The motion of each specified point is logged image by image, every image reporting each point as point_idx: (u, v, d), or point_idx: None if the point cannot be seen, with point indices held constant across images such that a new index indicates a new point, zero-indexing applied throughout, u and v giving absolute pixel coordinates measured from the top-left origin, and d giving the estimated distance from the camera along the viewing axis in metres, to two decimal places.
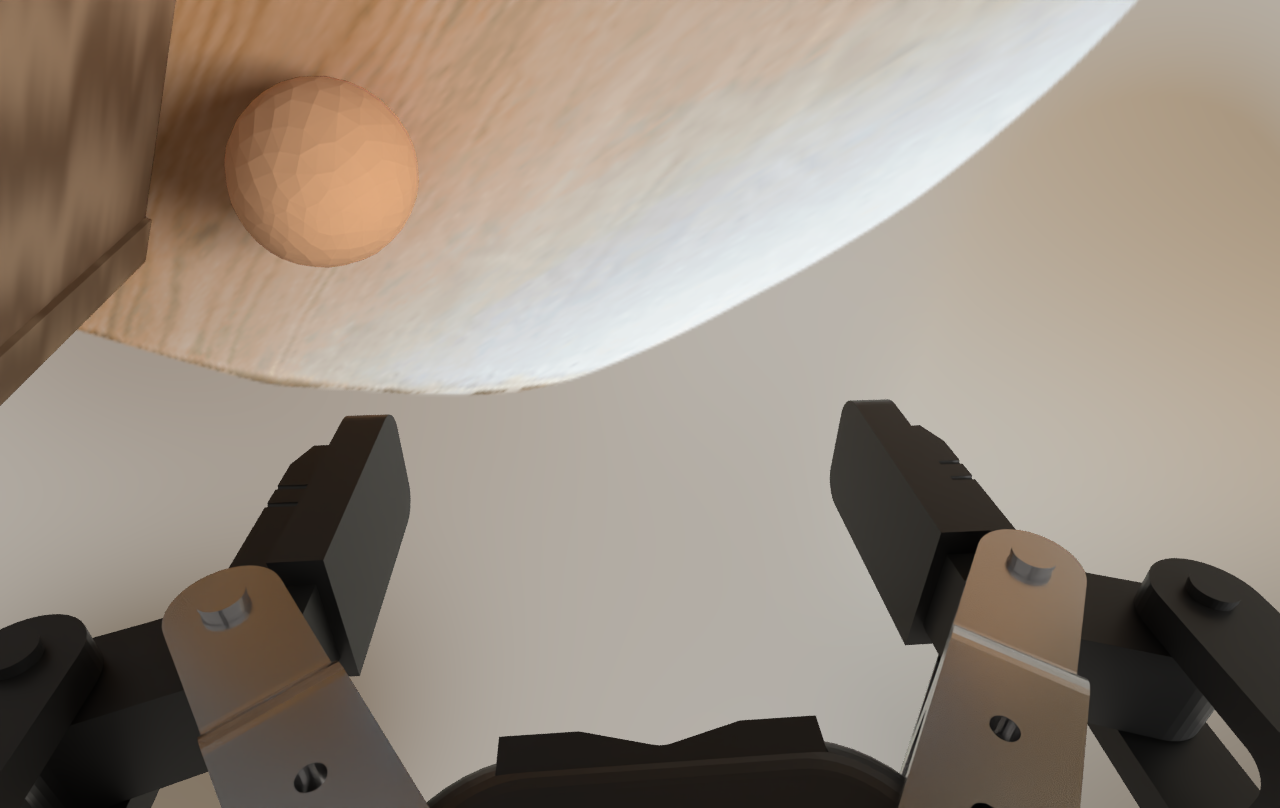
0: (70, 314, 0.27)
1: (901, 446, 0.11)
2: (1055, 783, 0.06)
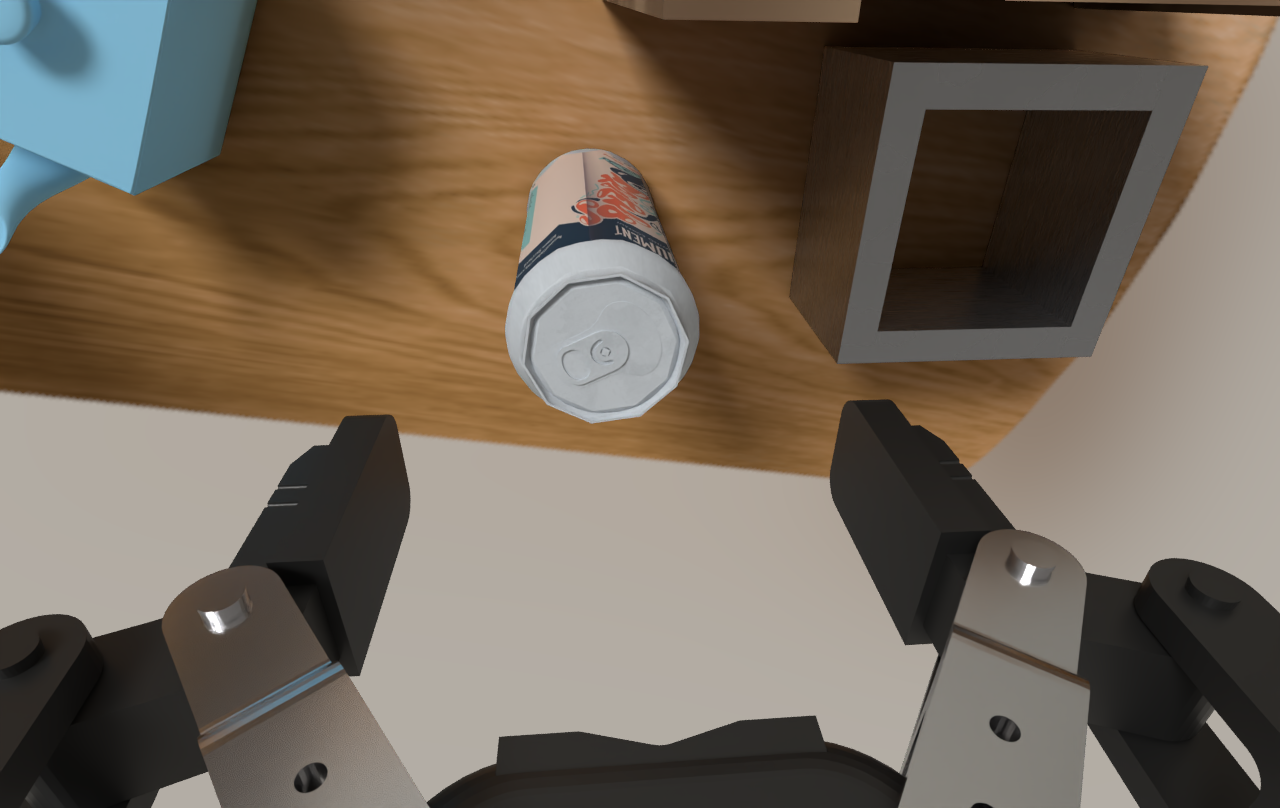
0: None
1: (901, 446, 0.11)
2: (1055, 783, 0.06)
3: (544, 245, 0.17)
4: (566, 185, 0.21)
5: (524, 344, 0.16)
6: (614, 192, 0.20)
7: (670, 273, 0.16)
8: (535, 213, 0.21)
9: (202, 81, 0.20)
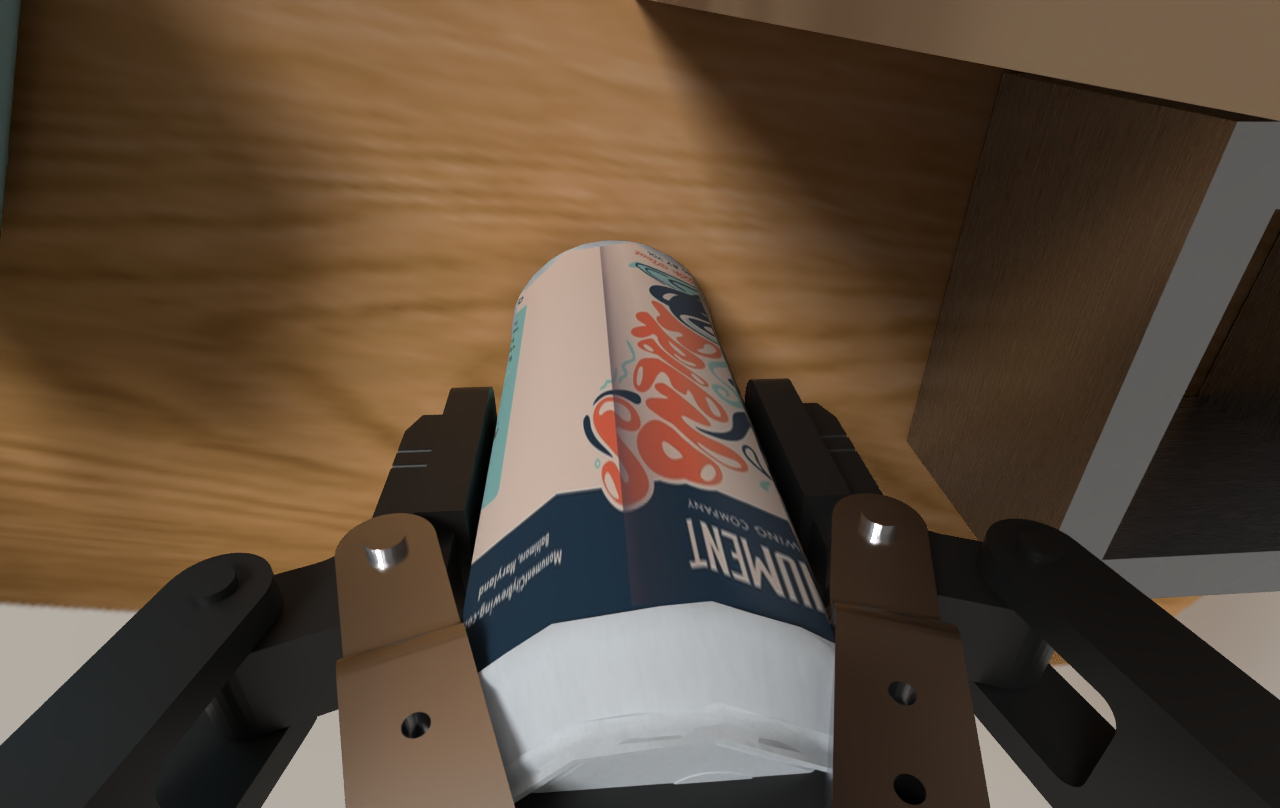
0: None
1: (787, 420, 0.11)
2: (955, 735, 0.06)
3: (523, 556, 0.07)
4: (573, 340, 0.11)
5: None
6: (666, 370, 0.10)
7: (830, 673, 0.06)
8: (516, 391, 0.11)
9: None
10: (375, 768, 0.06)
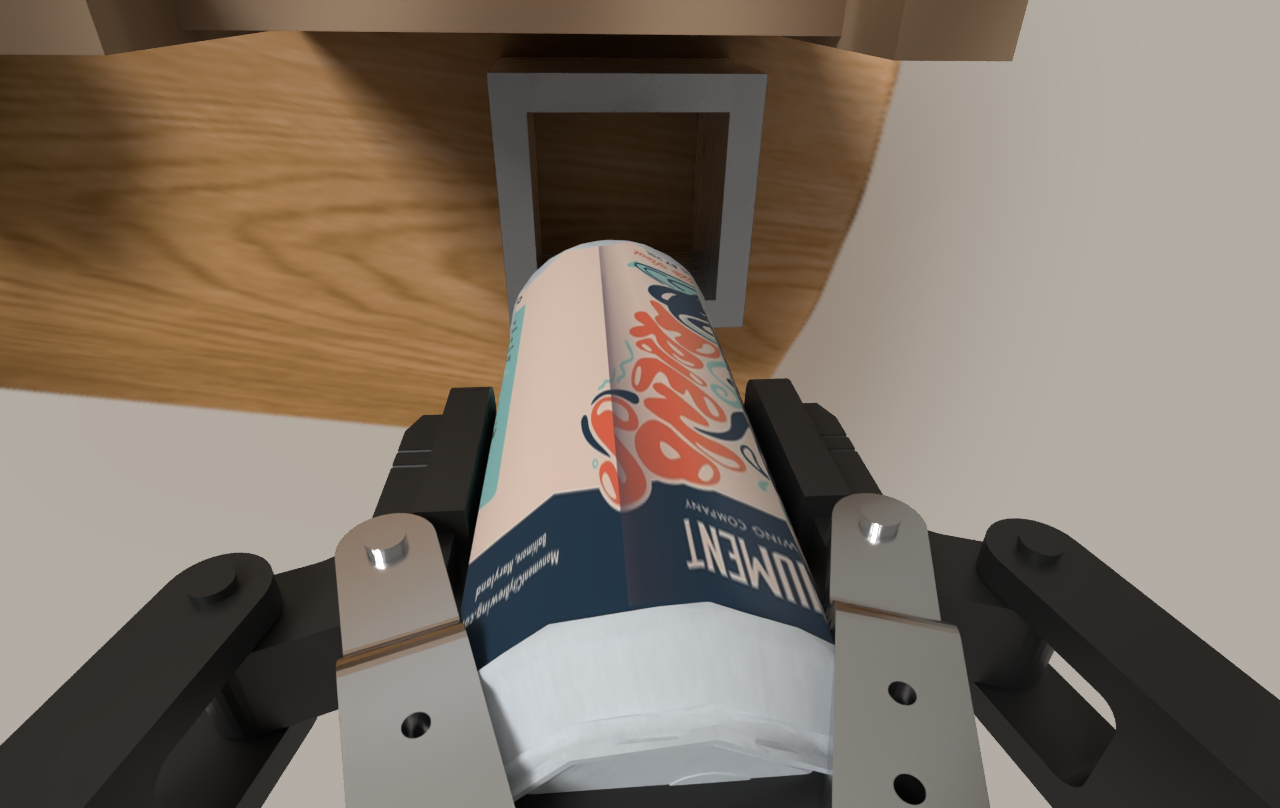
0: None
1: (787, 420, 0.11)
2: (955, 734, 0.06)
3: (520, 556, 0.07)
4: (572, 339, 0.11)
5: None
6: (664, 370, 0.10)
7: (827, 674, 0.06)
8: (515, 391, 0.11)
9: None
10: (375, 767, 0.06)
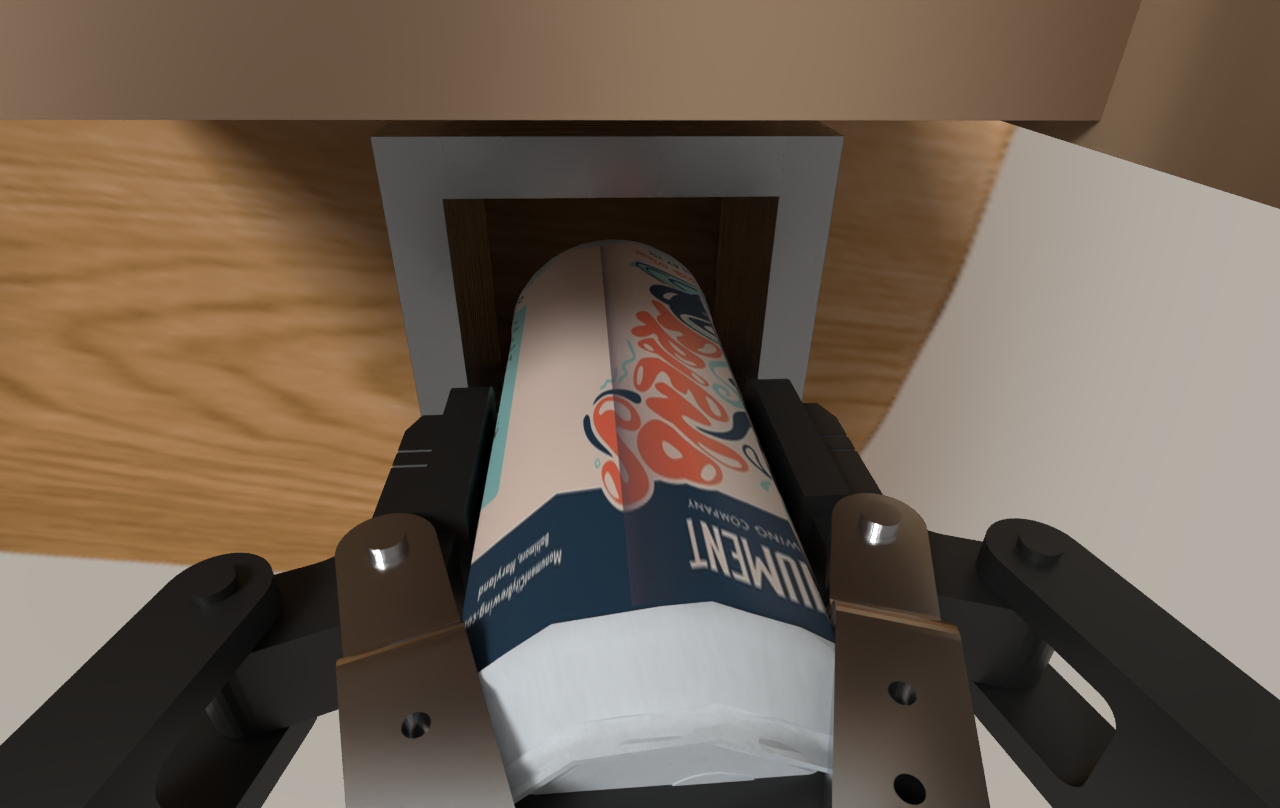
0: None
1: (787, 420, 0.11)
2: (955, 734, 0.06)
3: (523, 556, 0.07)
4: (573, 339, 0.11)
5: None
6: (666, 370, 0.10)
7: (830, 672, 0.06)
8: (516, 391, 0.11)
9: None
10: (375, 768, 0.06)
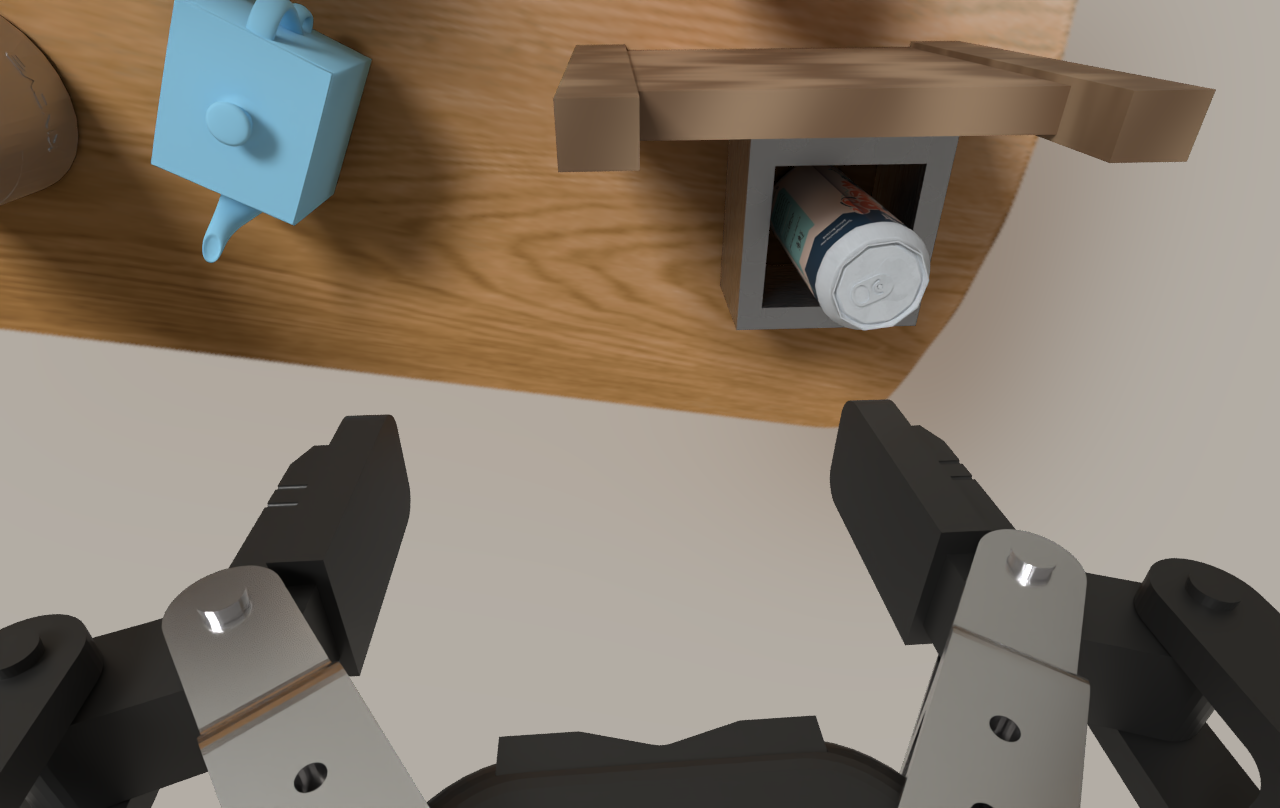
0: (997, 54, 0.28)
1: (901, 446, 0.11)
2: (1053, 784, 0.06)
3: (837, 225, 0.29)
4: (822, 188, 0.33)
5: (835, 281, 0.28)
6: (860, 193, 0.31)
7: (919, 241, 0.28)
8: (802, 206, 0.33)
9: (330, 154, 0.32)
10: None
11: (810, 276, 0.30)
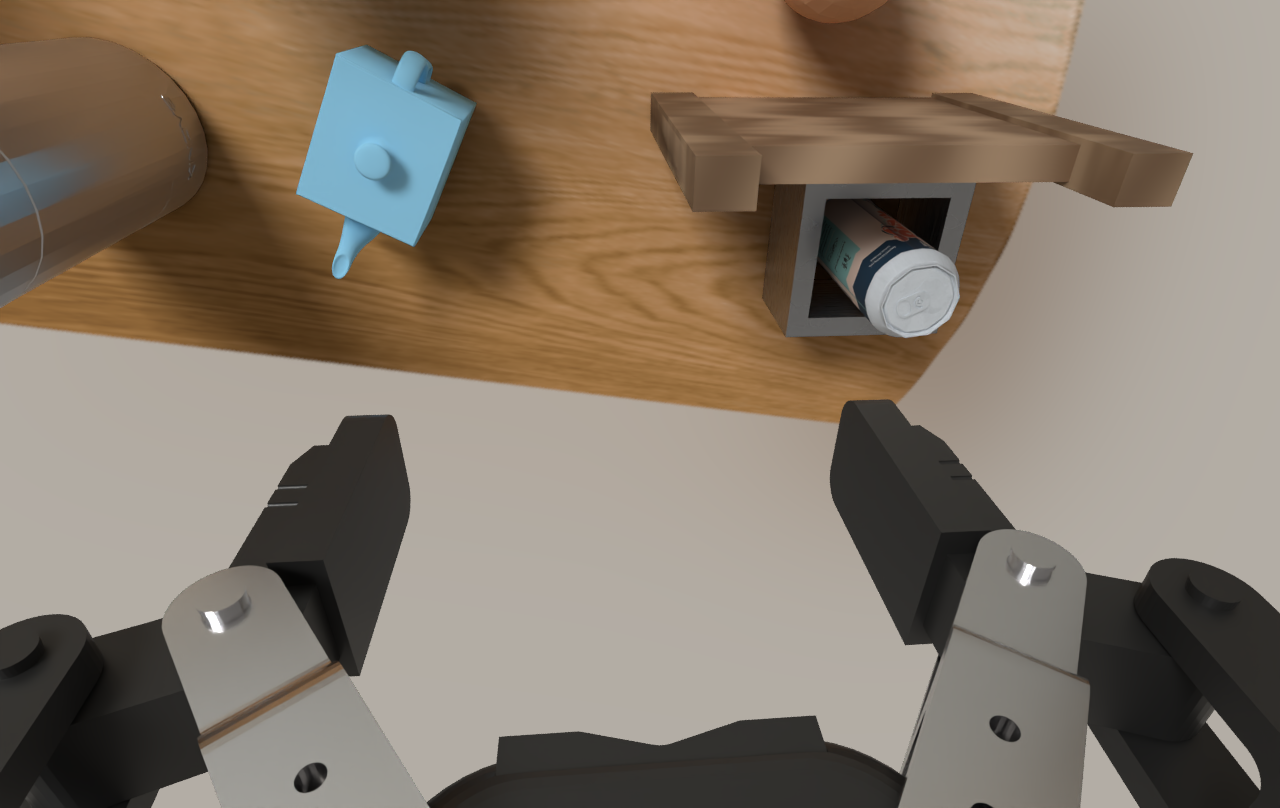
0: (1011, 110, 0.35)
1: (901, 446, 0.11)
2: (1053, 784, 0.06)
3: (882, 250, 0.35)
4: (862, 217, 0.38)
5: (884, 297, 0.34)
6: (896, 222, 0.37)
7: (952, 264, 0.34)
8: (845, 232, 0.39)
9: (441, 184, 0.37)
10: None
11: (859, 292, 0.35)
